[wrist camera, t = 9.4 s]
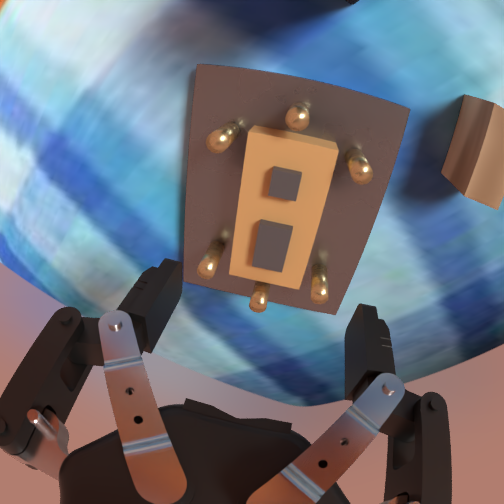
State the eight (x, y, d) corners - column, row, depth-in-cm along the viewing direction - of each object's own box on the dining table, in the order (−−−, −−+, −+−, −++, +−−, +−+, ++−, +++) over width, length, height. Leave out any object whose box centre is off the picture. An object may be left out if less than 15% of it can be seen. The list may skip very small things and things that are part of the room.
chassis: (404, 106, 16) (427, 117, 13) (335, 305, 26) (336, 342, 22) (203, 64, 17) (177, 64, 13) (188, 272, 27) (170, 305, 23)
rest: (496, 111, 14) (527, 124, 11) (472, 185, 18) (497, 210, 14) (464, 94, 14) (494, 103, 11) (440, 172, 18) (463, 196, 15)
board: (335, 142, 17) (339, 153, 15) (300, 272, 23) (298, 295, 21) (254, 125, 18) (246, 133, 15) (235, 258, 23) (226, 279, 21)
